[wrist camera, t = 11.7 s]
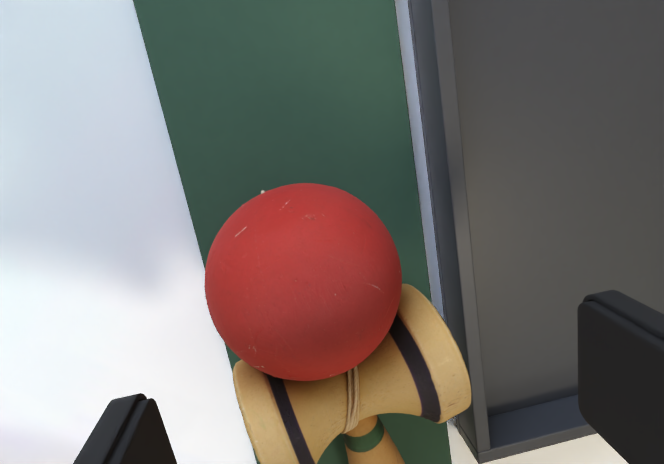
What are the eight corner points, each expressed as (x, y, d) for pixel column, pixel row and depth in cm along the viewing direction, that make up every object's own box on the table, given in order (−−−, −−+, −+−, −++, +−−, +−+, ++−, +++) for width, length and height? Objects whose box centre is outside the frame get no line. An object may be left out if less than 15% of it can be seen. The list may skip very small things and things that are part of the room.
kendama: (480, 471, 21) (392, 129, 14) (536, 630, 16) (436, 190, 8) (335, 502, 22) (183, 196, 15) (337, 663, 16) (95, 291, 9)
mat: (133, -7, 14) (130, -10, 13) (386, -44, 14) (388, -48, 14) (278, 538, 19) (278, 544, 19) (453, 491, 20) (456, 497, 20)
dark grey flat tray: (387, -172, 13) (407, -225, 11) (753, -216, 15) (829, -272, 13) (457, 430, 19) (478, 465, 17) (714, 364, 21) (762, 390, 18)
